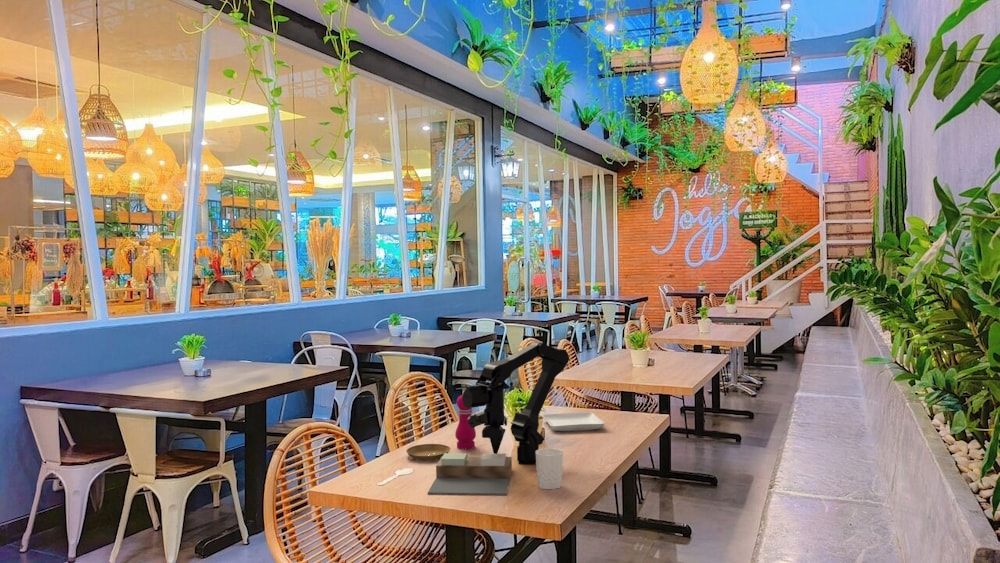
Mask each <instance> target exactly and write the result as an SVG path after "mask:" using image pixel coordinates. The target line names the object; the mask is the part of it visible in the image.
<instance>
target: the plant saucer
mask: <svg viewBox="0 0 1000 563" xmlns="http://www.w3.org/2000/svg"><path fill="white" fill-rule="evenodd" d="M450 451H451V447H450V446H448V445H446V444H441V443H440V444H439V443H424V444H422V443H421V444H416V445H412V446H410V447H408V448H407V449H406V454H407V455H408V456H409V457H410V458H411V459H413V460H415V461H418V462H434V461H439V460H440V459H441V457H442V456H443V455H444V453H450ZM433 453H435V454H433ZM429 454H430V455H429ZM428 455H429V456H428Z"/></svg>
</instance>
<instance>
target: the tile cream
mask: <svg viewBox="0 0 1000 563" xmlns="http://www.w3.org/2000/svg"><path fill="white" fill-rule="evenodd" d="M481 457H482V458H481V466H504V465H505V462H506V457H507V454H506V453H497V454H494V453H482V456H481Z"/></svg>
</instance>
